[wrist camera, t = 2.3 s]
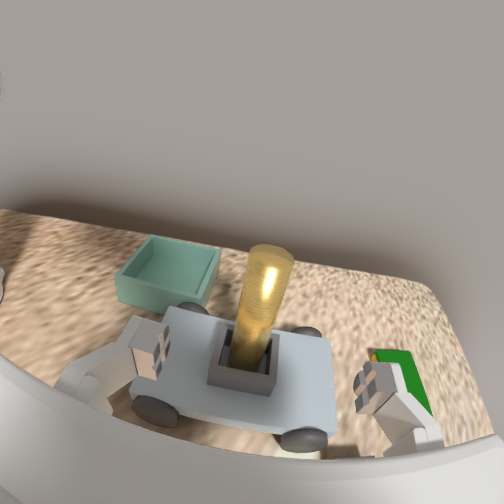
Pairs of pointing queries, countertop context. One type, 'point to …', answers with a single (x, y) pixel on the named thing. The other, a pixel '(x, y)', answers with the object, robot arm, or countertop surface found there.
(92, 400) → the robot arm
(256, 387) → the trolley
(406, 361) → the dish sponge
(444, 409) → the countertop surface
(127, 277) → the tray
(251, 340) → the pin
